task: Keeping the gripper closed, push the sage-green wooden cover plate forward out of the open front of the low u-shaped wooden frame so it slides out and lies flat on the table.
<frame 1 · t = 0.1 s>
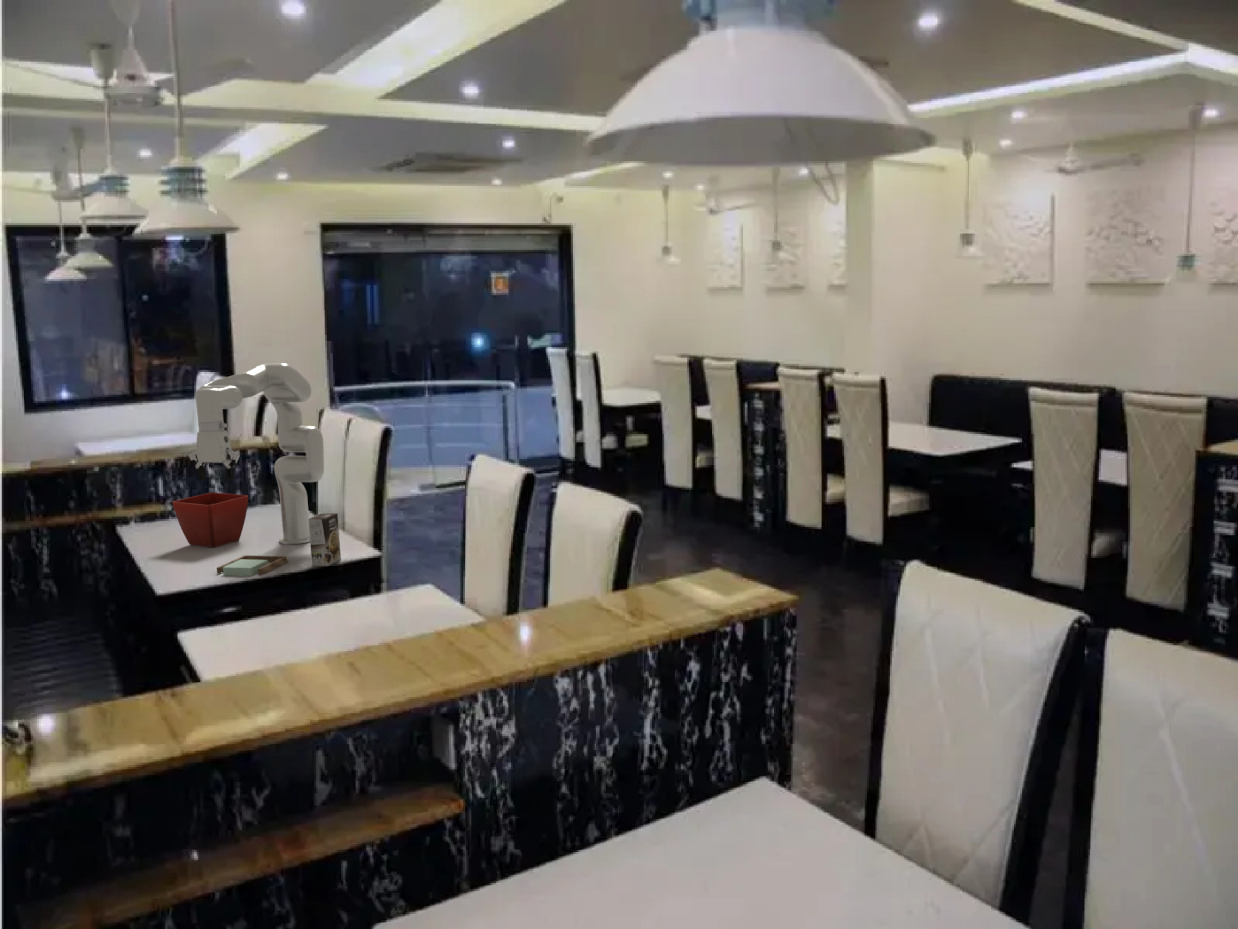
hand: (216, 480, 322), 31 cm above the table, tool pointing down, fingers open, 9 cm apart
plant pot: (215, 543, 371), on the table
cover plate: (246, 572, 330), on the table
u-shaped wooden frame: (253, 567, 333), on the table
coffee box: (326, 563, 337), on the table
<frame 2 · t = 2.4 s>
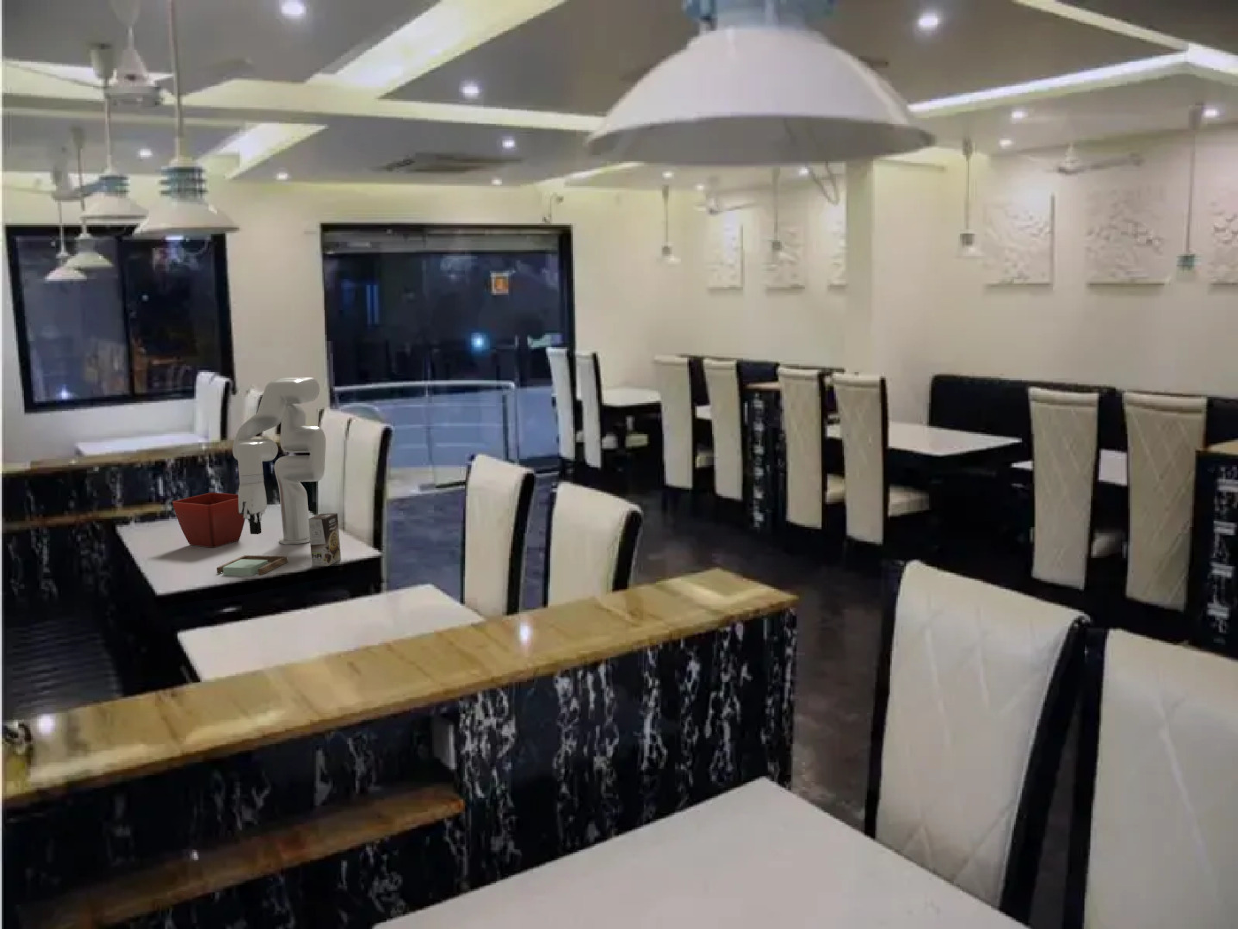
hand: (255, 533, 335), 11 cm above the table, tool pointing down, fingers closed
nothing on the table moved.
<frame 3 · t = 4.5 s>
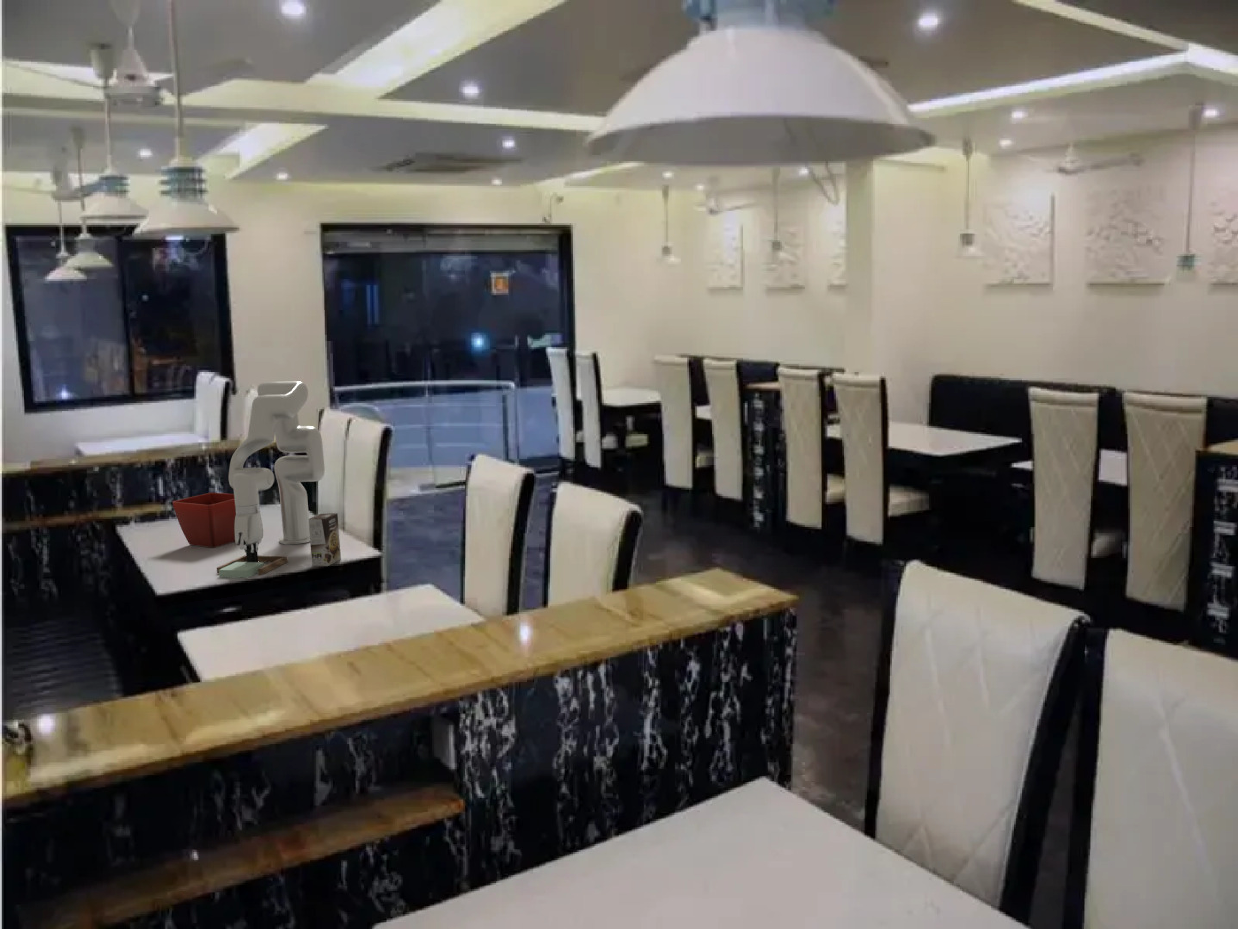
hand: (252, 563, 333), 2 cm above the table, tool pointing down, fingers closed
cover plate: (242, 575, 327), on the table, touching gripper
everything else where it was.
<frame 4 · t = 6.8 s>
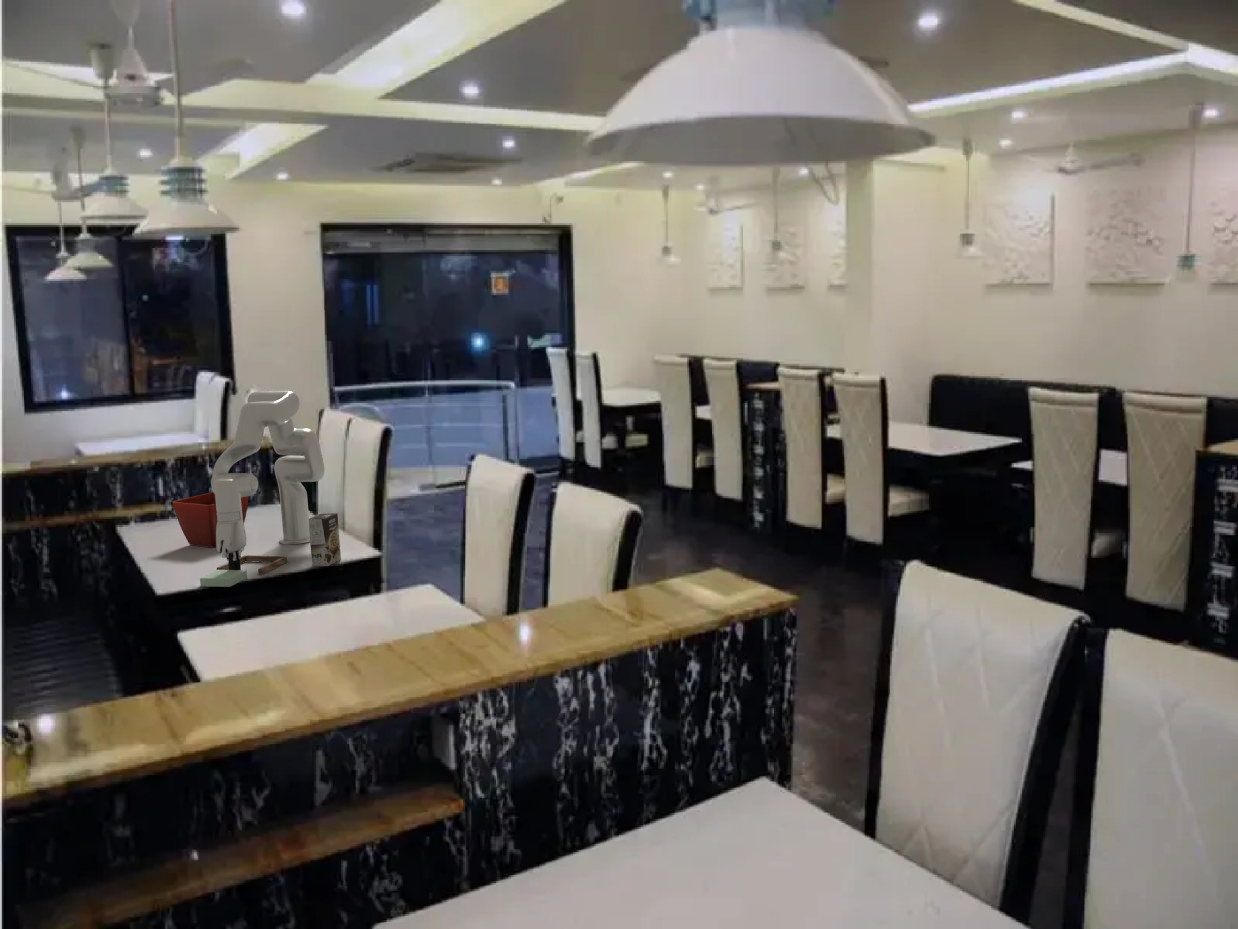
hand: (235, 571, 324), 1 cm above the table, tool pointing down, fingers closed
cover plate: (224, 583, 317), on the table
everything else where it was.
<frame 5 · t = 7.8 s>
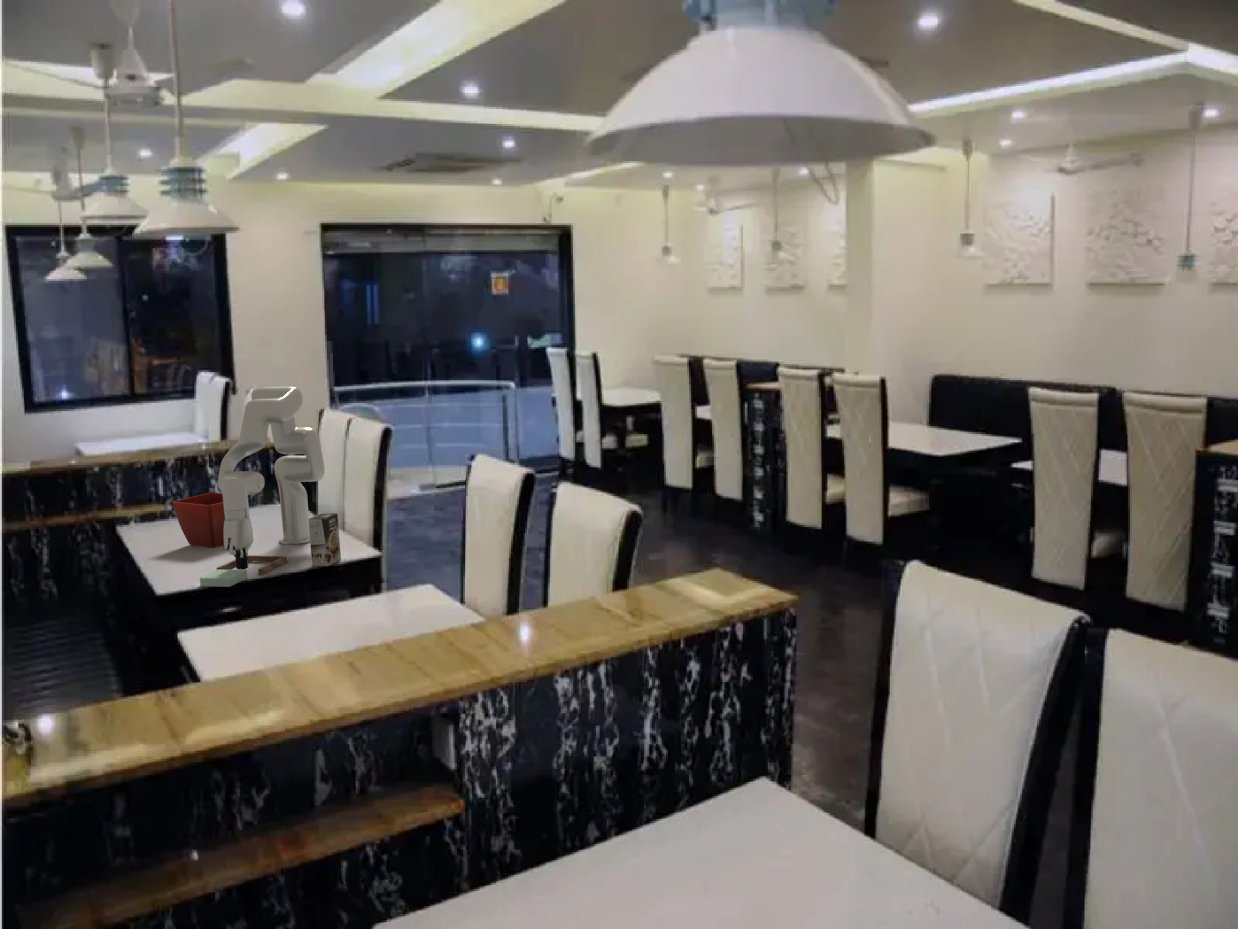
hand: (242, 568, 327), 1 cm above the table, tool pointing down, fingers closed
nothing on the table moved.
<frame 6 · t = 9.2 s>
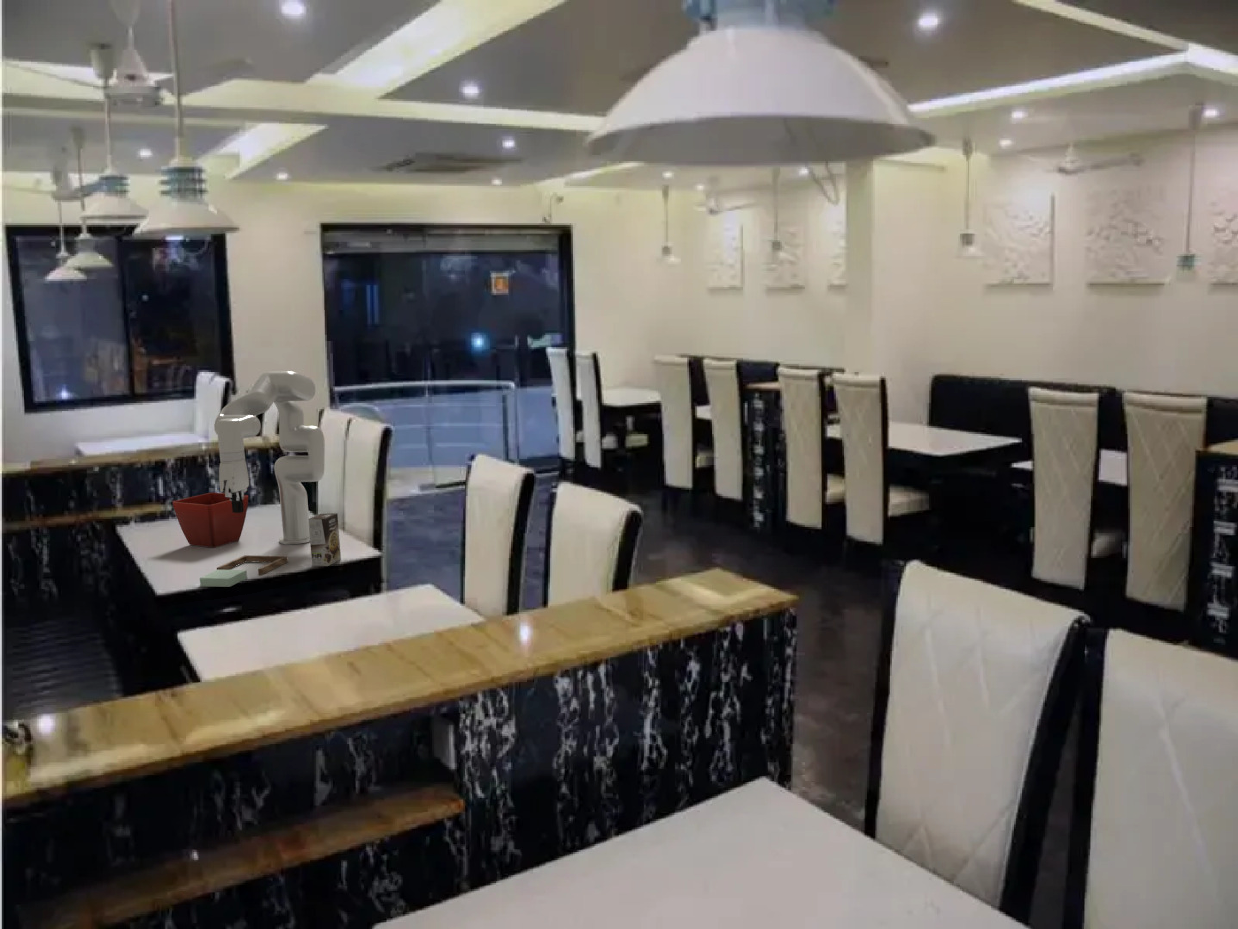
hand: (238, 512, 327), 20 cm above the table, tool pointing down, fingers closed
nothing on the table moved.
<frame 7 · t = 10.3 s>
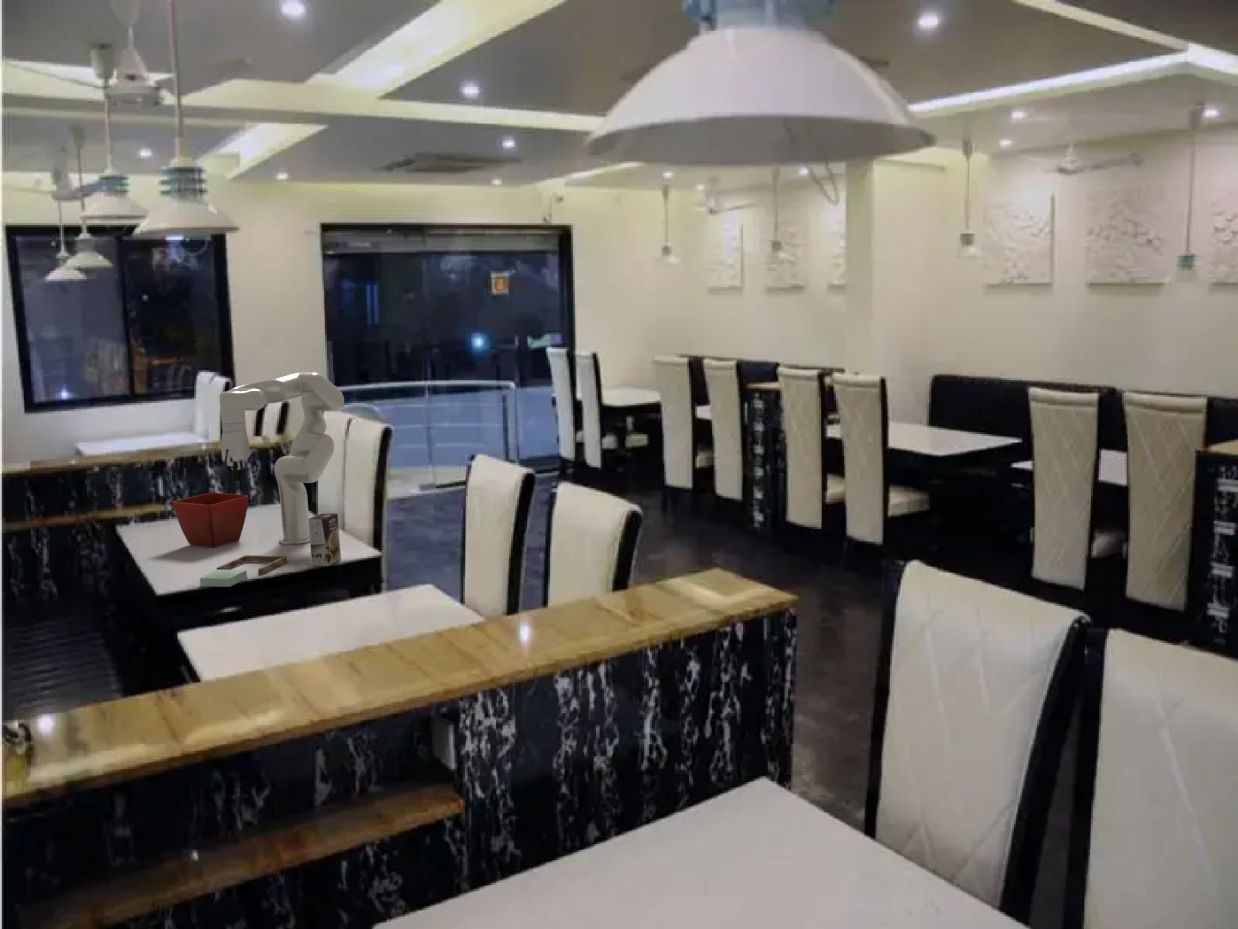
hand: (239, 480, 343), 27 cm above the table, tool pointing down, fingers closed
nothing on the table moved.
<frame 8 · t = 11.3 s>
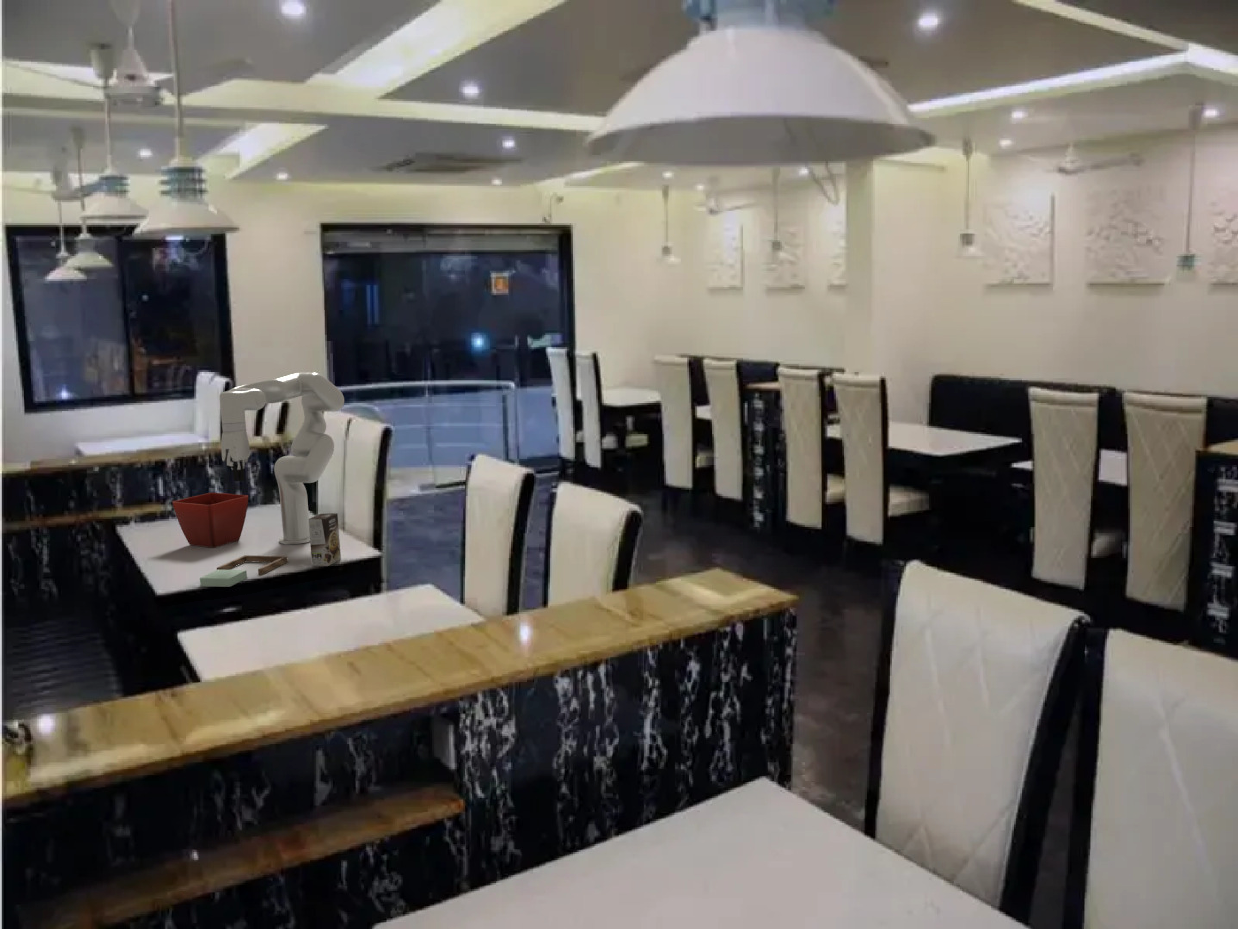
hand: (239, 480, 343), 27 cm above the table, tool pointing down, fingers closed
nothing on the table moved.
at the end: cover plate inside the target area (1.2 cm from its centre), on the table; cover plate tilted 0°; cover plate touching table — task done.
